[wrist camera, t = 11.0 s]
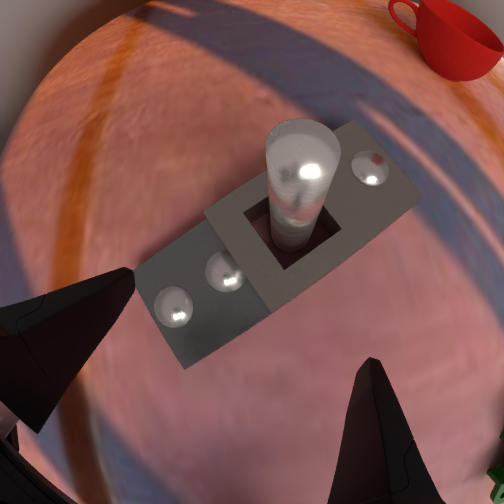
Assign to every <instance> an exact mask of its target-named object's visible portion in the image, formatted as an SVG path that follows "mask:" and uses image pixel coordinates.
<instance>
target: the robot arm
mask: <svg viewBox="0 0 504 504" xmlns="http://www.w3.org/2000/svg"><path fill="white" fill-rule="evenodd" d="M134 291H135V276H134V272H133V270H131V269H129V268H127V267H122V268H119V269H116V270H113V271H110V272H107V273H104V274H101V275H98V276H95V277H92V278H89V279H87V280H84V281H81V282H78V283H75V284H72V285H69V286H66V287H64V288H61V289H58V290H55V291H52V292H49V293H47V294H44V295H41V296H38V297H35V298H32V299H29V300H26V301H23V302H19V303H16V304H12V305H8V306H5V307H1V308H0V504H78V503H76V502H75V501H74V500H72V499H71V498H70V497H68V496H67V495H66V494H64V493H63V492H62V491H61V490H59V489H58V488H57V487H56V486H54V485H53V484H52V483H51V482H50V481H48V480H47V479H46V478H45V477H44V476H43V475H42V474H40V473H39V472H38V471H37V470H36V469H35V468H34V467H33V466H32V465H31V464H30V463H29V462H28V461H26V460H25V459H24V458H23V457H22V456H21V455H20V454H19V443H18V435H17V425H16V423H17V422H18V420H19V419H20V420H21V421H22V422H23V423H24V424H26V425H27V426H28V427H29V428H30V429H32V430H33V431H34V432H35V433H36V434H38V433H39V432H40V430H41V429H42V427H43V425H44V424H45V422H46V421H47V419H48V418H49V416H50V414H51V413H52V411H53V410H54V408H55V407H56V405H57V404H58V402H59V401H60V399H61V397H62V396H63V394H64V393H65V391H66V390H67V388H68V387H69V386H70V384H71V383H72V381H73V380H74V378H75V377H76V375H77V374H78V372H79V371H80V370H81V368H82V367H83V365H84V364H85V363H86V361H87V360H88V358H89V357H90V356H91V354H92V353H93V351H94V350H95V349H96V347H97V346H98V345H99V343H100V342H101V341H102V339H103V338H104V337H105V335H106V334H107V333H108V331H109V330H110V329H111V327H112V326H113V325H114V323H115V322H116V320H117V319H118V317H119V316H120V314H121V312H122V311H123V309H124V307H125V306H126V304H127V302H128V301H129V299H130V298H131V296H132V294H133V293H134ZM413 439H414V438H413V435H412V433H411V430H410V428H409V425H408V423H407V420H406V418H405V416H404V413H403V411H402V408H401V406H400V404H399V401H398V399H397V397H396V395H395V392H394V390H393V388H392V386H391V383H390V381H389V379H388V377H387V375H386V372H385V370H384V368H383V366H382V364H381V362H380V360H378V359H375V358H371V357H369V358H368V359H367V360H366V361H365V362H364V363H363V365H362V366H361V367H360V368H359V370H358V371H357V374H356V377H355V381H354V386H353V390H352V394H351V397H350V401H349V405H348V409H347V413H346V419H345V425H344V431H343V436H342V442H341V447H340V452H339V457H338V462H337V466H336V471H335V475H334V479H333V483H332V487H331V491H330V495H329V499H328V503H327V504H446V503H445V502H444V501H443V500H442V498H441V497H440V495H439V493H438V491H437V489H436V487H435V485H434V483H433V481H432V479H431V477H430V475H429V473H428V471H427V468H426V466H425V464H424V462H423V460H422V457H421V455H420V452H419V450H418V448H417V445H416V442H415V440H413Z"/></svg>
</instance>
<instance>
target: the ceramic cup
mask: <svg viewBox="0 0 504 504" xmlns="http://www.w3.org/2000/svg"><path fill="white" fill-rule="evenodd" d="M396 2H403V3H405V4H407V5H409V6H410V7H411V8H412V9H413V11H414V12H415V15H416V19H417V21H416V31H415V30H413V29H411V28H410V27H409V26H407V25H406V24H405V23H403V22H402V21H401V20H400V19H399V18H398V17H397V15H396V14H395V12H394V9H393V5H394V4H395V3H396ZM388 8H389V12H390V14H391V16H392V18H393V19H394V20H395V22H396V23H397V24H399V25H400V26H401V27H402V28H403V29H405V30H406V31H407V32H409V33H410V34H411V35H413V36H414V37H416V38H417V40H418V44H419V47H420V50H421V52H422V54H423V56H424V60H425V61H426V63H427V64H428V65H429V66H430V68H432V69H433V70H434V71H435V72H436V73H438V74H439V75H441V76H442V77H444V78H446V79H448V80H450V81H454V82H459V81H471V80H475V79H478V78H480V77H482V76H484V75H485V74H487V73H488V72H489V71H490V70H491V69H492V68H493V67H494V66H495V65H496V64H497V63H498V61H499V60H500V59H501V57H502V55H503V54H504V46H503V44H502V43H501V41H500V40H499V39H498V37H497V36H496V35H495V34H494V33H493V32H492V30H491V29H489V28H488V27H487V26H486V25H485V24H484V23H483V22H482V21H480V20H479V19H478V18H476V17H475V16H474V15H472V14H471V13H469V12H468V11H466V10H465V9H463V8H461V7H460V6H458V5H456V4H454V3H452V2H450V1H448V0H420V4H419V8H418V7H417V6H416V5H415V4H414V3H412V2H411V1H409V0H390V1H389V5H388Z"/></svg>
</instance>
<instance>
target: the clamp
mask: <svg viewBox="0 0 504 504" xmlns="http://www.w3.org/2000/svg"><path fill="white" fill-rule="evenodd" d="M500 438H501V439H502V440H503V441H504V433H502V434H501V436H500ZM487 474H488V475H489V476H490V478H491V479H492V480H493V481H494V482H495V483H496V484H495V486H494V488H493V490H492V492H491V494H490V498H491V500H492V501H493V502H494V504H500V503H503V502H504V462H503V463H502V464H501V465H499V466H498V467H496V468H494V469H489V470H488V471H487Z"/></svg>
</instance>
